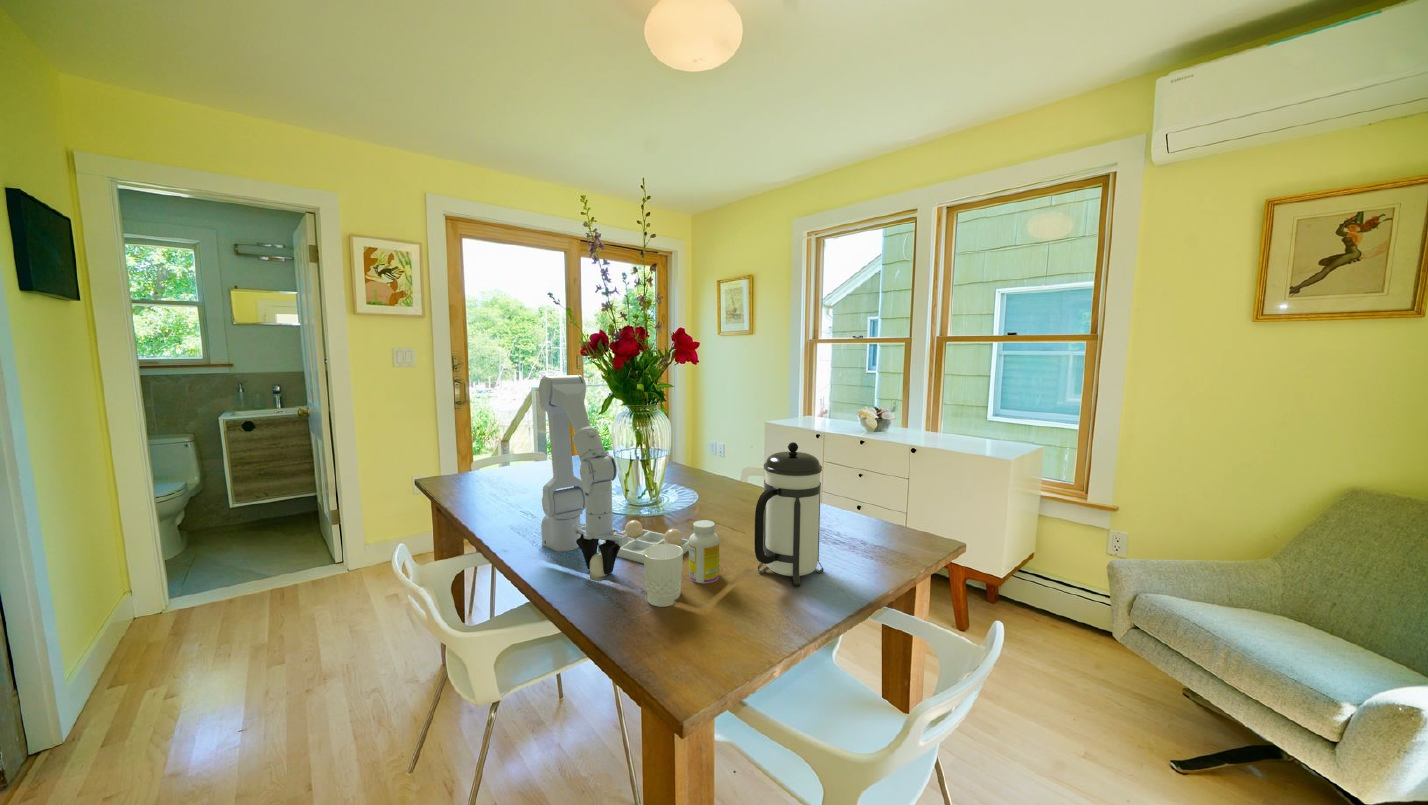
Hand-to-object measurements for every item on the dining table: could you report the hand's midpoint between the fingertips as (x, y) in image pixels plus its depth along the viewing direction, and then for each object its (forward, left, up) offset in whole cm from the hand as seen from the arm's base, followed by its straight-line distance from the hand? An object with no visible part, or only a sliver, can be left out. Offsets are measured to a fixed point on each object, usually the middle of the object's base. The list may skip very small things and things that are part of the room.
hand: (600, 570), depth 108 cm
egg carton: (+1, +15, -1) cm, 15 cm away
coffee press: (+36, +22, -2) cm, 42 cm away
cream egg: (0, 0, -1) cm, 1 cm away
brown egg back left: (-5, +18, 0) cm, 19 cm away
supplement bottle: (+21, +10, -2) cm, 23 cm away
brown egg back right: (+7, +18, 0) cm, 19 cm away
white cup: (+18, -1, -2) cm, 18 cm away
